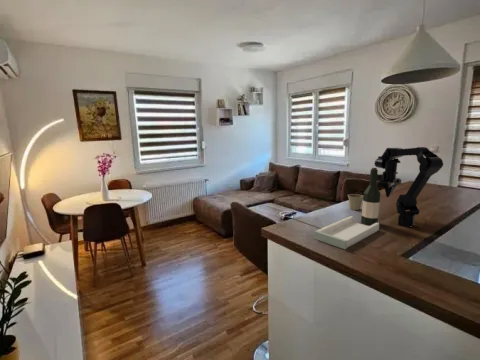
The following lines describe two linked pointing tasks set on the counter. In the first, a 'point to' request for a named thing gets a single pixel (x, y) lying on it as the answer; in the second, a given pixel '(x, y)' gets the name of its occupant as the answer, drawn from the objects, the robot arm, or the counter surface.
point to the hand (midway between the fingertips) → (387, 197)
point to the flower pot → (355, 201)
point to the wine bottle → (371, 201)
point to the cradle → (345, 233)
